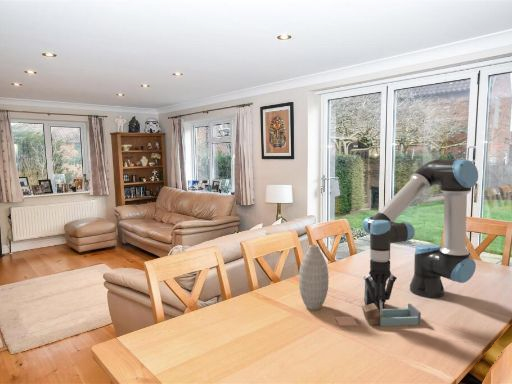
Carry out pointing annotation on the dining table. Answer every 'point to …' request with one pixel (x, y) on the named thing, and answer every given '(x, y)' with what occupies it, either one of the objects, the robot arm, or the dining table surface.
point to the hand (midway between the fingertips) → (379, 316)
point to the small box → (367, 296)
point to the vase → (313, 278)
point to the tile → (346, 321)
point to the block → (371, 314)
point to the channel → (407, 316)
